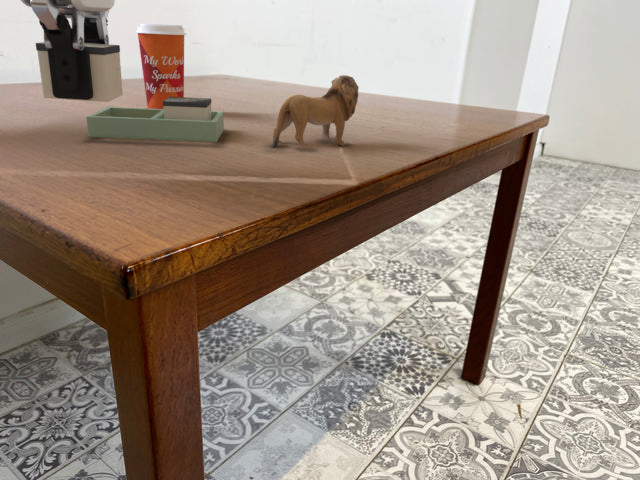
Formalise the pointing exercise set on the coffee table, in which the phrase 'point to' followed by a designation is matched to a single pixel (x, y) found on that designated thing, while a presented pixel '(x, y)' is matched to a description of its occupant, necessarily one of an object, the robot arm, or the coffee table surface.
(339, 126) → the lion figurine
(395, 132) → the coffee table surface
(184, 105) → the pad
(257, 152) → the coffee table surface
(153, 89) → the paper cup
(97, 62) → the cream block
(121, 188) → the coffee table surface
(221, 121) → the green divided tray
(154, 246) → the coffee table surface
